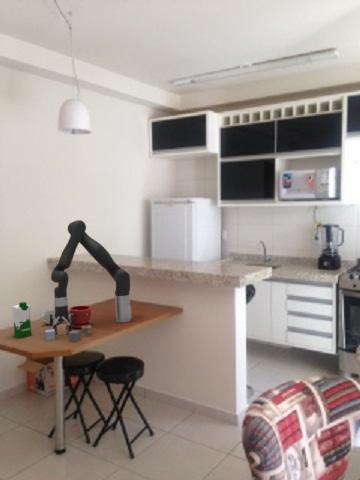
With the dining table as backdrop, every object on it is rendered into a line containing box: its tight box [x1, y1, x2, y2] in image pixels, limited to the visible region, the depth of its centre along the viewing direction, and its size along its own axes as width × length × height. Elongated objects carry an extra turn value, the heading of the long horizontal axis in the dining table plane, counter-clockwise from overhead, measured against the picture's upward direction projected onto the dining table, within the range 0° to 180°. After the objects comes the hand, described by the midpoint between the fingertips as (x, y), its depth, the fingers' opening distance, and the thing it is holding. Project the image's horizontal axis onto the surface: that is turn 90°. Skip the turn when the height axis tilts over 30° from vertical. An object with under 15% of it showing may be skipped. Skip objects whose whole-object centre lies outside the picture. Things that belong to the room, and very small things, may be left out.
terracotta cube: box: [56, 323, 69, 336], centre depth 253 cm, size 5×5×5 cm
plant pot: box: [68, 305, 92, 329], centre depth 266 cm, size 13×13×12 cm
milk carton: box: [11, 301, 33, 339], centre depth 250 cm, size 9×9×20 cm
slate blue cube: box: [45, 328, 56, 342], centre depth 243 cm, size 5×5×5 cm
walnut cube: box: [81, 324, 93, 338], centre depth 248 cm, size 5×5×5 cm
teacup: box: [40, 309, 60, 326], centre depth 274 cm, size 14×11×8 cm
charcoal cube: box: [67, 329, 82, 343], centre depth 240 cm, size 5×5×5 cm
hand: (62, 331), depth 253 cm, fingers open, 8 cm apart
